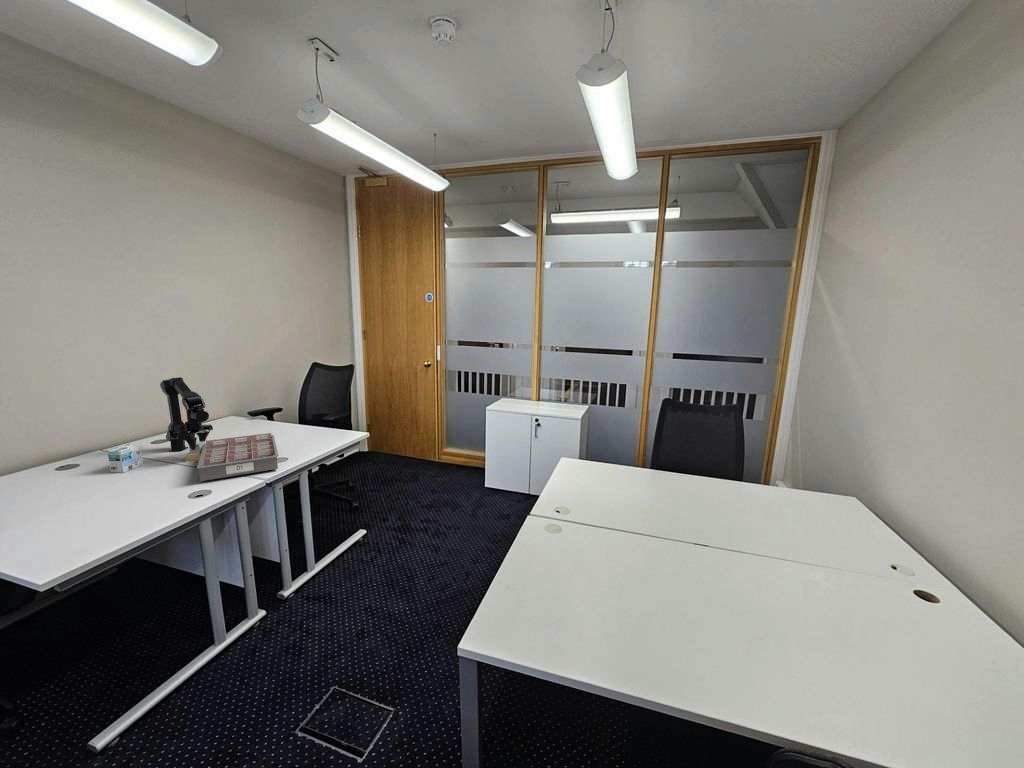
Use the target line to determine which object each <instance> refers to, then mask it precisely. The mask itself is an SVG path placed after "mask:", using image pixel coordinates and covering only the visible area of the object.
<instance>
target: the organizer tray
mask: <svg viewBox="0 0 1024 768" xmlns="http://www.w3.org/2000/svg"><path fill="white" fill-rule="evenodd" d="M205 443H206V444H204V446H203V449H202V452H201V455H200V459H199V461H197V462H198V463H197V466H196V469H198V473H199V474H198V475H199V481H200V482H202V481H210V480H216V479H222V478H229V477H234V476H241V475H247V474H253V473H260V472H265V471H271V470H277V469H278V468H279V467H278V465H279V464H278V457H279V451H278V447H277V443H276V439H275V435H273V434H272V432H266V433H258V434H251V435H242V436H234V437H232V436H231V437H224V438H218V439H208V440H207V439H206V440H205Z"/></svg>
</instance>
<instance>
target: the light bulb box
mask: <svg viewBox="0 0 1024 768" xmlns="http://www.w3.org/2000/svg"><path fill="white" fill-rule="evenodd" d="M142 456H143V455H142V448H141V444H131V443H130V444H126V445H122V446H119V447H116V448H114V449H110V450H107V458H108V462H109V463H108V464H109V469H110V470H109V471H110V473H119V474H120V473H123V474H124V473H126V472H129V471H131V470H135V469H137V468H139V467H142V466H144V464H143V463H144V462H143V457H142Z"/></svg>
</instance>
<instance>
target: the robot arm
mask: <svg viewBox="0 0 1024 768" xmlns="http://www.w3.org/2000/svg"><path fill="white" fill-rule="evenodd" d="M159 386H160V389H161V392H163V394H164V395H166V398H167V403H168V410H169V418H170V423H169V425H168V426H167V432H166V435H165V439H166V441H168V442H169V443H170V449H169V450H168V452H182V451H184V450H186V449H189V446H190V448H191V449H192V450H195V445H196V441H197V440H198V441H205V442H206V441H207V438H208V436H209V434H210V433H211V431H213V429H214V428H213V425H212V424H203V422H206V421H208V420H209V418H210V414H209V413H208V411H206V410H205V408H206V403H205V401H204V399H203V397H202V396H201V395H200V394H199V393H198V392H196V391H192V390H191V388H190V387H189V386H188V385H187V384H186V382H184V378H183V377H179V376H178V377H171V378H169V379H163V380H162V381H161V382H160V383H159ZM179 395H180V397H181V404H182V405H183V407H184V409H185V412H186V421H185V422H183V420H182V419H183V418H182V412H181V406H180V405H181V404H180V400H179ZM196 435H197V436H198V437H197V436H196ZM186 443H187V445H188V446H186Z"/></svg>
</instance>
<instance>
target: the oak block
mask: <svg viewBox="0 0 1024 768" xmlns="http://www.w3.org/2000/svg"><path fill="white" fill-rule="evenodd" d="M200 455H201V453H200V454H190V452H188V453H186V454H185V456H184V457H185V463H187V461H188V463H190V462H189V461H195V462H199V459H200Z"/></svg>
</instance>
